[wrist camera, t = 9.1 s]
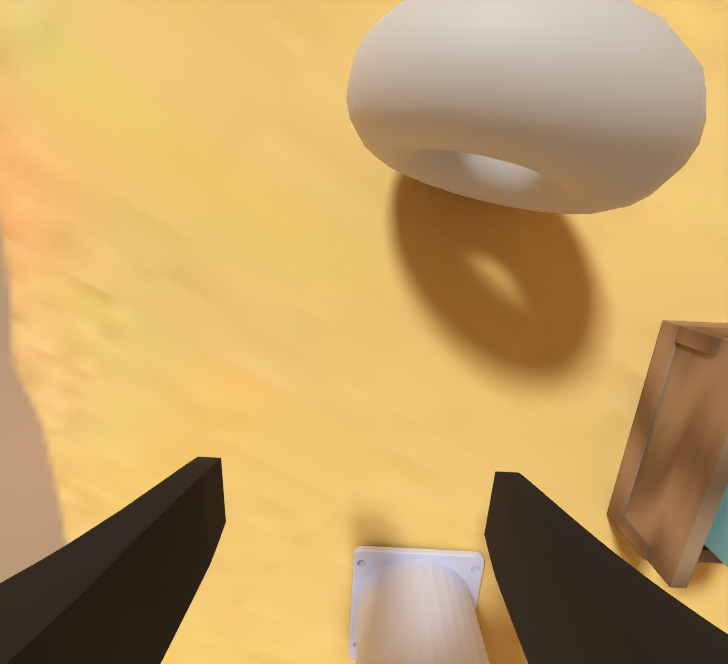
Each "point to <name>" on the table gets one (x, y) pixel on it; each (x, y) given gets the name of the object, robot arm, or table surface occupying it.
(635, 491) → the rack
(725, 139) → the table surface
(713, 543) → the teal upright slab
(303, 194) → the table surface
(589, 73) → the grey donut
